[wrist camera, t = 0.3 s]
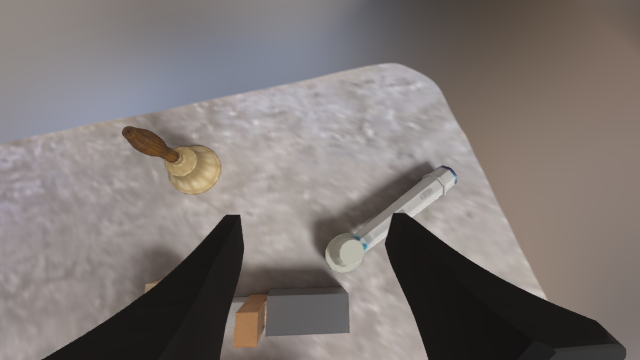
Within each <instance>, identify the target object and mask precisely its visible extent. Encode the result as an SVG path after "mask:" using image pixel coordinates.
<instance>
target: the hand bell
mask: <svg viewBox="0 0 640 360" xmlns="http://www.w3.org/2000/svg"><path fill="white" fill-rule="evenodd" d="M122 135H123V136H124V137H125V138H126V139H127V140H128V142H129V143H130V144H131V145H132V146H133V147H134V148H135V149H136V150H138V151H140V152H142V153H144V154H146V155H150V156H157V157H161V158H163V159H165V167H166V169H167V171H168V174H169V179H170V181H171V183H172V185H173V186H174V187H175V188H176V189H177V190H179V191H180V192H183V193H185V194H191V195H194V194H201V193H203V192H206V191H207V190H209V189H210V188H212V187H213V186H214V185H215V184H216V182H217V181H218V179H219V176H220V173H221V163H220V160H219V158H218V156H217V155H216V154H215V153H214V152H213V151H212V150H210V149H209V148H206V147H203V146H190V147H177V148H174V149H170V148H168V147H167V146H166V144H165V142H164V141H163V140H162V139H161V138H160V137H159V136H157V135H156V134H154V133H153V132H151V131H149V130H145V129H140V128H135V127H132V126H127V127H125V128H124V129H123V131H122Z"/></svg>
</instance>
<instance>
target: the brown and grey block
mask: <svg viewBox="0 0 640 360" xmlns="http://www.w3.org/2000/svg"><path fill="white" fill-rule="evenodd" d="M267 295H268V294H254V295H250V297H233V300H232V304H231V307H230V311H229V315H228V318H227V323H226V327H225V328H227V327H235V331H234V348H240V347H257V344H258V342H259V339H260V337H261V334H262V332H263V329H264V327H265V326H266V307H267Z"/></svg>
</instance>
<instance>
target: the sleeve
mask: <svg viewBox="0 0 640 360" xmlns="http://www.w3.org/2000/svg"><path fill="white" fill-rule="evenodd" d="M334 333H350V330H349V299H348V293H347V292H346V290H345V289H344V288H343V287H312V288H273V289H271V290H270V292H269V293H268V295H267V307H266V336H284V335H309V334H334Z"/></svg>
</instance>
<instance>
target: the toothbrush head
mask: <svg viewBox="0 0 640 360" xmlns="http://www.w3.org/2000/svg"><path fill="white" fill-rule="evenodd" d="M456 183H457V175H456V174H455V172H454V171H453V170H452V169H451V168H449V167H446V166H443V165H442V166H440V167H438V168H437V169H435V170H434V171H433V172H431V173H428V174H426V175H425V176H423V177H421V181H420V182H418V183H417V184H416V185H415V186H414V187H412V188H411V189H410V190H409V191H407V192H406V193H405V194H404V195H402V196H401V197H400V198H399V199H397V200H396V201H395V202H394V203H392V204H391V205H390V206H389V207H388V208H386V209H385V210H384V211H383V212H381V213H380V214H379V215H378V216H376V217H375V218H374V219H373V220H371V221H370V222H369V223H368V224H367V225H365V226H364V227H363V228H362V229H360V230H359V231H358V232H357V233H355V234H352V233H344V234H339V235H337V236H336V237H335V238H333V239H332V240H331V241H330V242H329V244H328V246H327V248H326V250H325V261H326V263H327V264H328V266H329V267H330V269H332V270H334V271H337V272H340V273H343V272H348V271H352V270H353V269H354V268H355V267H357V266H358V265H359V264H360V263H361V260H362V258H363V256H364V253H365V252H366V251H367V250H369V249H370V248H371V247H373V246H374V245H375V244H377V243H378V242H379V241H381V240H382V239H383V238H385V237H386V236H387V234H388V230H389V226H390V222H391V218H392V215H393V213H406V214H407V215H409V216H410V217H413V216H414V215H416V214H417V213H418V212H420V211H421V210H422V209H424V208H425V207H426V206H428V205H429V204H430V203H432V202H433V201H434V200H436V199H437V198H440V197H443V196H445V195H446V191H447V190H449V189H450V188H451V187H452V186H454V185H455V184H456Z"/></svg>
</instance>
